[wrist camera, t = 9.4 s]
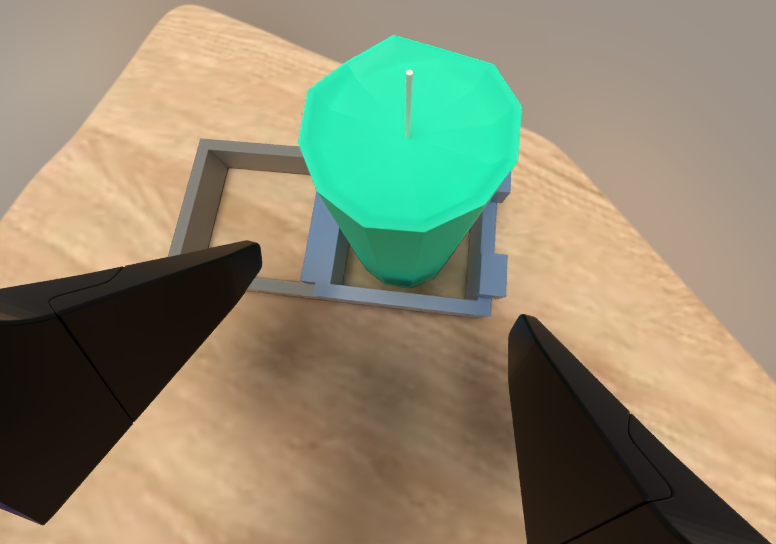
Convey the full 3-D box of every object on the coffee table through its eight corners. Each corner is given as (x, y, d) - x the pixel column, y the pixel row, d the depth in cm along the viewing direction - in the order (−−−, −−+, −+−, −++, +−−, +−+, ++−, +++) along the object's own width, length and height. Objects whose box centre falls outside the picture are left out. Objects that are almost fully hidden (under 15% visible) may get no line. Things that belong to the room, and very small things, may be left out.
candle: (471, 249, 17) (620, 88, 6) (395, 307, 17) (380, 267, 5) (412, 180, 18) (431, -77, 7) (339, 234, 18) (219, 58, 6)
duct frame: (488, 180, 18) (512, 140, 14) (480, 318, 16) (505, 316, 13) (220, 157, 19) (174, 114, 15) (188, 283, 18) (127, 272, 14)
